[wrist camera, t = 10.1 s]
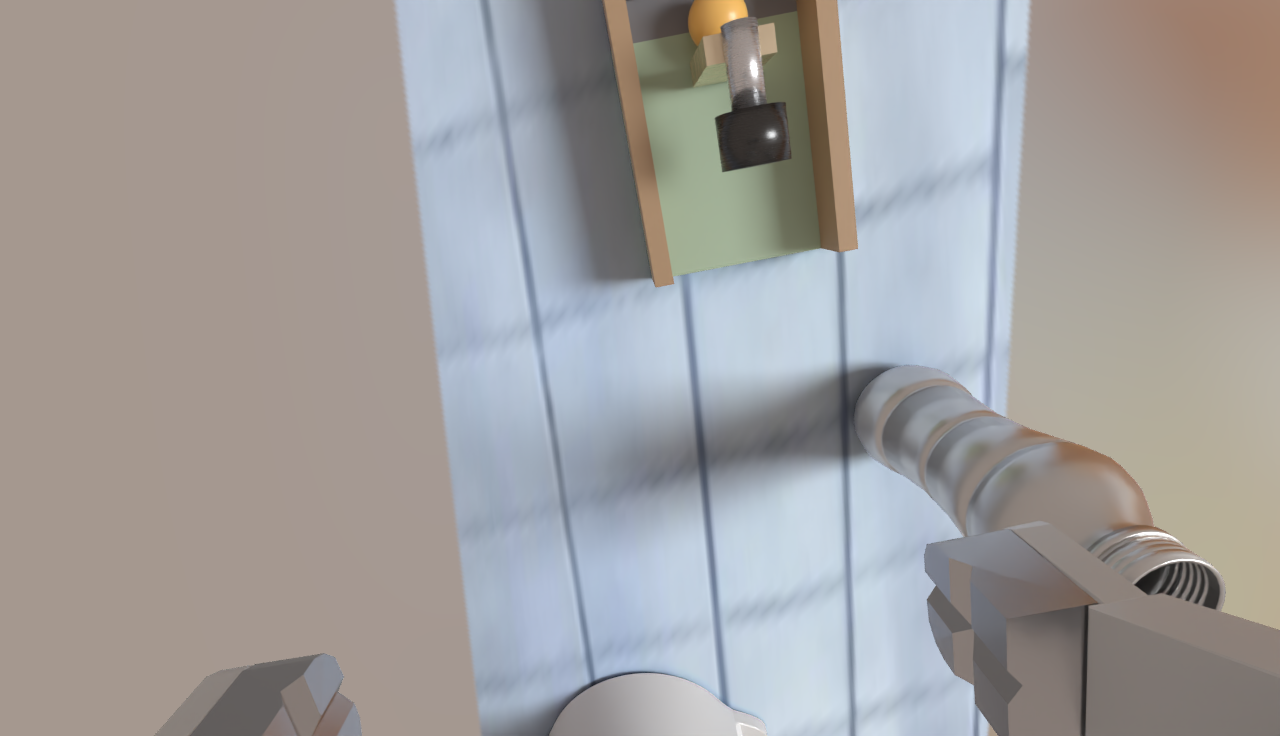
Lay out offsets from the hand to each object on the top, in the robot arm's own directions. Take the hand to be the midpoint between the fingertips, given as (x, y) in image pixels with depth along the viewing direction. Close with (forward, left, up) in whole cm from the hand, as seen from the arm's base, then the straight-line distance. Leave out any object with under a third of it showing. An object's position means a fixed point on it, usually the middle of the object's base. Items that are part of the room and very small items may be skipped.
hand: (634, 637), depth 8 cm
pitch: (+9, -7, -29) cm, 31 cm away
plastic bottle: (-10, -16, -29) cm, 35 cm away
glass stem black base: (+9, -8, -28) cm, 30 cm away
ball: (+13, -7, -27) cm, 31 cm away
